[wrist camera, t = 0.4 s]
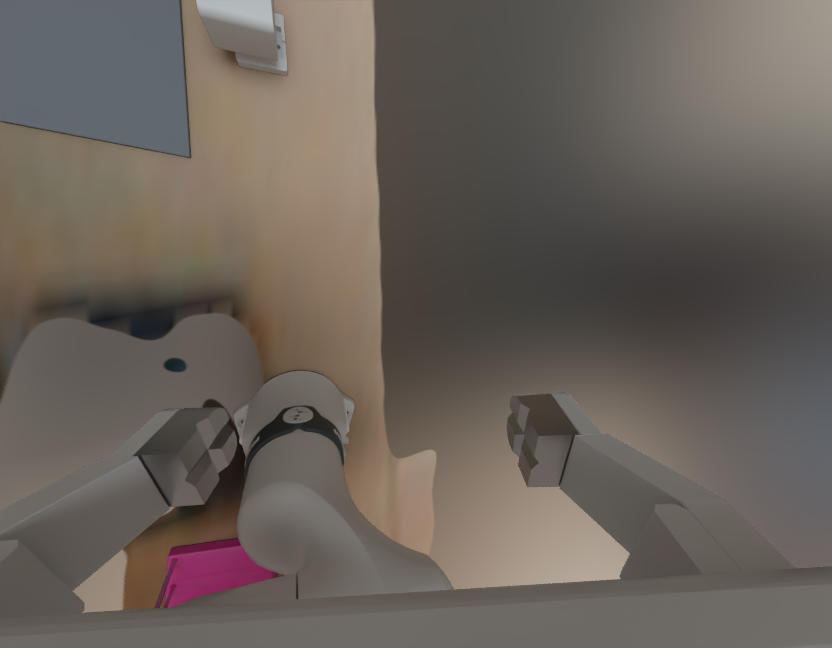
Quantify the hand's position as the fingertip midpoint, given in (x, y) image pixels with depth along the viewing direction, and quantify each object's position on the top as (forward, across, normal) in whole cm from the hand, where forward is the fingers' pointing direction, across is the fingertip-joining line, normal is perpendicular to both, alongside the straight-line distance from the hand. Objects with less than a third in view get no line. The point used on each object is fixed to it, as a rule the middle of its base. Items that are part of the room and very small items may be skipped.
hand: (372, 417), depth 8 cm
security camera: (+40, -16, +22) cm, 49 cm away
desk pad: (+35, -31, +19) cm, 50 cm away
